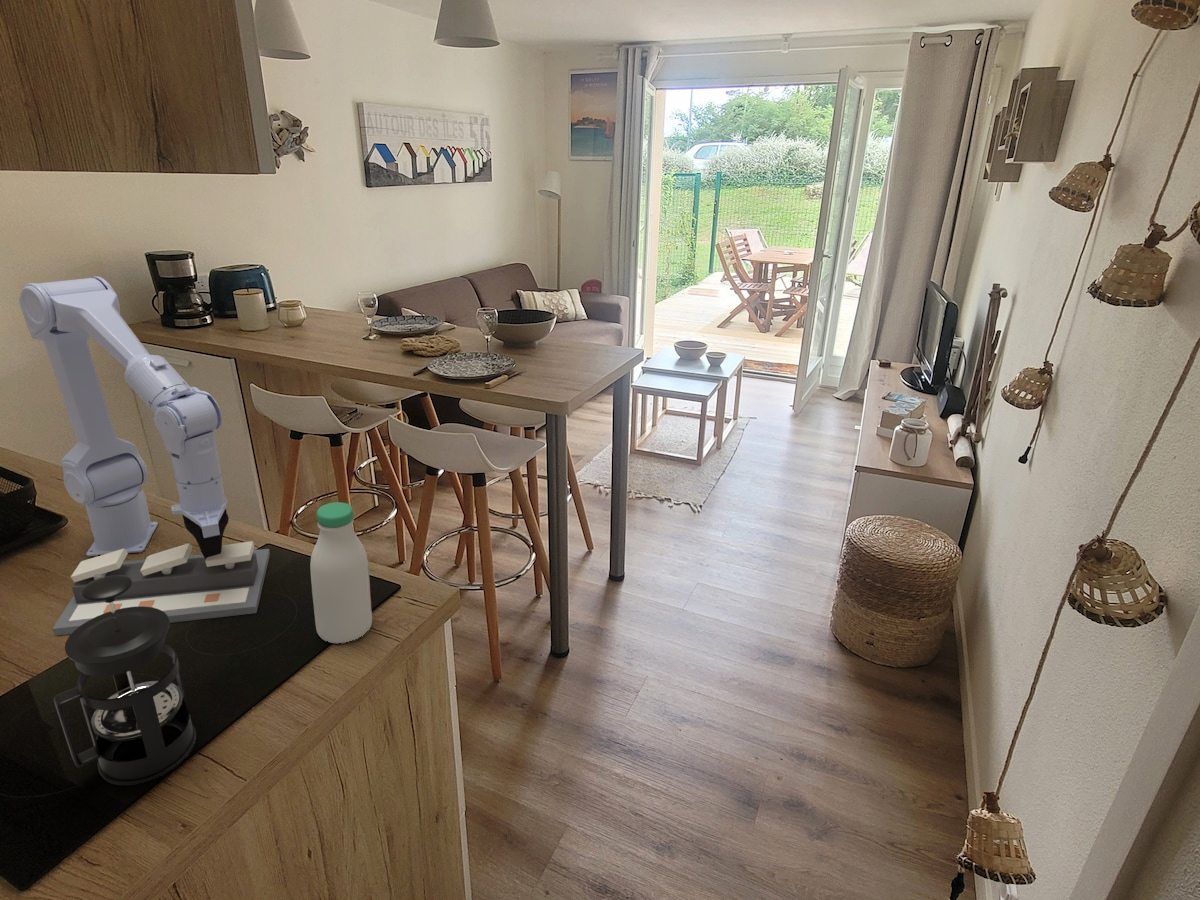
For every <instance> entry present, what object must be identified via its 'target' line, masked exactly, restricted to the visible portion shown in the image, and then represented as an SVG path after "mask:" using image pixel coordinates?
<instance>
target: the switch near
mask: <svg viewBox="0 0 1200 900" xmlns="http://www.w3.org/2000/svg"><path fill="white" fill-rule="evenodd" d="M128 555H129V553H127V551H126V550H125V548H124V549H120V550H117V551H114V552H111V553H107V554H104V555H100V556H93V557H92V558H88V559H85V560H81V561H80V562H79V564H78V566H76V569H75V570H74V571H73V573H72V574H71V575H70V578H71V579H72V581H73V583H75V582H77V581H81V580H84V579H87V578H90V577H94V579H95V580H96V579H99V578H102V577H105V575H106V573H107V572H110V571H113V570H116V569H119V568H120V567H121V565H122V563H123V561H126V558H127V556H128Z"/></svg>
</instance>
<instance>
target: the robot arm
mask: <svg viewBox="0 0 1200 900" xmlns="http://www.w3.org/2000/svg"><path fill="white" fill-rule="evenodd" d="M18 302H19V305H20V306H19V307H20V309H21V312H22V315H23V318H24V321H25V324H26V326H27V330H28V331H29V334H30V337H31V338H32V339H33V340H37V341H43V343H44V346H45V349H46V350H45V351H46V352H47V354H48V358H49V359H48V360H49V361H50V364H51V367H52V371H53V373H54V376H55V380H56V382H57V385H58V388H59V391H60V394H61V396H62V397H61V398H62V401H63V403H64V406H65V409H66V413H67V415H68V418H69V421H70V425H71V428H72V430H73V433H74V436H75V439H76V444H75V445H73V447H72V448H71V449H70V450H69V451H68V452H67V453H66V454H65V455H64V456H63V457H62V459H61V460H60V462H61V466H62V471H63V484H64V487H65V489H66V492H67V493H68V494H69V496H70V497H71V499H73V501H75V502H77V503H78V504H80V505H83V506H85V509H86V514H87V518H88V521H89V526H90V529H91V532H92V533H91V534H92V536H93V540H94V541H93V542H92V544H91V546H90V547H89V548H88V550H87V552H86V554H85V555H86V557H97V556H98V555H100V556H101V555H104V554H107V553H111V552H114V551H117V550H120V549H124V548H125V550H126V551H127V553H128V554H133V553H143V552H144V551H145V550H146V548H147V547H146V546H147V545H148V544H149V542H150V540H151V538H152V536H153V534H154V531H155V530H156V528H157V526H158V525H159V524H158V521H151V516H150V512H149V507H148V501H147V497H146V494H145V492H144V490H143V487H142V485H144V484H145V483H147V480H148V468H147V465H146V462H145V461H144V459H143V458H142V457H141V455H140V453H139V450H138V448H137V446H136V444H134V443H133V442H131V441H129V440H127V439H123V438H120V437H117V435H116V432H115V429H114V425H113V422H112V419H111V416H110V412H109V409H108V407H107V402H106V400H105V396H104V393H103V390H102V386H101V384H100V380H99V377H98V373H97V370H96V367H95V363H94V361H93V358H92V354H91V350H90V348H89V345H88V340H89V339H90V337H91V338H92V339H93V340H94V341H96V342H97V343H98V344H99V345H100V347H102V348H103V350H105V351H106V352H107V353H109V355H110V356H112V357H113V358H114V359H115V360H116V361H117V362H118V363H119V364H121V366H123V367H124V369H125V371H124V376H123V377H124V381H125V382H126V384H128V386H129V387H130V388H131V390H132V391H133V392H135V393H136V395H137V396H138V397H139V398H140V399H141V400H142V401H143V402H144V404H146V405H147V407H148V408H149V409H150V410H151V411H152V413H153V414H154V417H153V418H152V420H153V422H154V425H155V427H156V429H157V431H158V433H159V435H160V436H161V438H162V442H163V447H165V449H166V451H167V452H169V453H170V457H171V463H172V468H173V474H174V478H175V484H176V485H175V486H176V490H177V495H178V500H179V503H177V504H173V505H171V506H170V508H171V513H172V515H182V519H183V523H184V527H185V529H186V531H188V532H189V533H190V534H191V535H192V536H193V537H194V539H195V540H196V543H197V544H198V547H199V549H200V552H201V555H202V554H203V556H204V558H205V559H206V558H207V557H211V556H214V555H218V554H221V550H222V545H223V537H224V533H225V530H226V527H227V525H228V524H229V519H230V518H229V514H228V512H227V506H228V499H227V497H226V496H225V490H224V484H223V477H222V471H221V464H220V458H219V452H218V444H217V438H216V434H215V433H216V432H215V430H218V429H219V428H220V427H221V426H222V423H223V415H222V411H221V408H220V406H219V404H218V402H217V401H216V399H215V398H214V397H213V396H212V394H211V393H209V392H207V391H205V390H200V389H199V388H198V387H196V386H190V385H189V383H187V382H186V380H185V379H184V378H183V377H182V376H181V375H180V374H179V373H178V371H177V370H175V368H174V367H173V366H172V365H171V364H170V362H168V360H166V358H165V357H163V356H161V355H156V354H150V353H149V351H148V350H147V349H146V348H145V346H144V345H143V344H142V342H141V341H140V340H139V338H138V337H137V335H136V334H135V333H134V332H133V330H132V329H131V327H129V325H128V324H127V322H126V321H125V320H124V318H123V317H122V316H121V304H120V301H119V297H118V294H117V293H116V292H115V290H114V288H113V287H112V286H111V284H110V283H109V282H108V281H107V280H106V279H105V278H103V277H101V276H98V275H96V276H95V275H94V276H91V277H88V278H87V277H85V278H78V279H68V280H57V281H47V282H38V283H37V282H36V283H35V282H29V283H25V285H24V286H23V287H22V289H21V292H20V295H19V297H18Z"/></svg>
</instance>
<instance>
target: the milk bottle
mask: <svg viewBox="0 0 1200 900" xmlns="http://www.w3.org/2000/svg"><path fill="white" fill-rule="evenodd" d="M316 520H317V527H318V528H319V534H318V538H317V541H316V543H315V545H314V548H313V549H312V553H311V556H310V566H309V568H310V570H309V571H310V582H311V593H312V602H313V603H312V604H313V612H314V623H315V629H316V634H318V636H319V637H320V638H321V640H323V641H324V642H327V641H328V642H327V643H331V644H339V643H341V644H347V643H346V642H348V643H350V642H349V641H352V640H354V641H356V640H355V639H357V640H359V639H360V638H359V637H361V636H362V637H364V636H365V635H366V634H367V633H368V632H369V630H370V629H371V627H372V624H373V612H372V596H371V595H372V594H371V583H370V569H369V561H368V556H367V551H366V549H365V547H364V545H363V544H362V541H361V540H360V539H359V538H358V536H357V533H356V532H355V530H354V527H353V524H354V522H355V520H354V510H353V507H352V506H351V505H350V504H349V503H346V502H341V501H340V502H339V501H338V502H335V501H334V502H329V503H326V504H324V505H321V506H320V507H319V508H317V511H316ZM367 631H368V632H367ZM366 632H367V633H366ZM365 633H366V634H365ZM364 634H365V635H364ZM363 635H364V636H363ZM362 637H361V638H362ZM358 638H359V639H358ZM352 642H353V641H352Z"/></svg>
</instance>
